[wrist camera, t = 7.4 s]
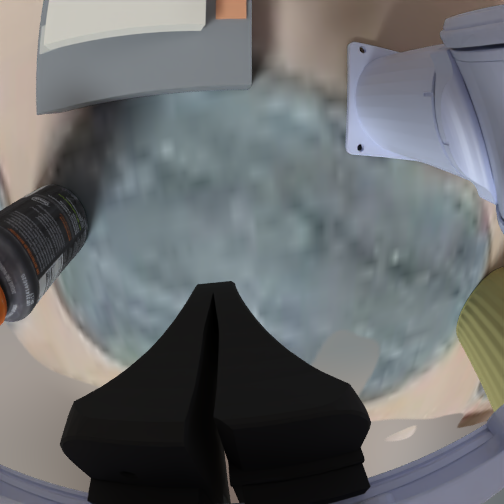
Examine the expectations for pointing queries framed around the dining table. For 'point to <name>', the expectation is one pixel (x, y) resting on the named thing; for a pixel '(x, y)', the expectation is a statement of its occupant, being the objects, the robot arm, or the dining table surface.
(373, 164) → the dining table surface
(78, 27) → the rocker
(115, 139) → the dining table surface
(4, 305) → the pill bottle
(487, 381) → the potted cactus
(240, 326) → the robot arm
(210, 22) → the switch base
